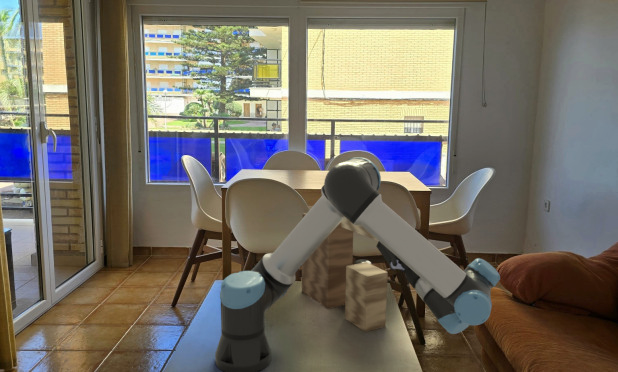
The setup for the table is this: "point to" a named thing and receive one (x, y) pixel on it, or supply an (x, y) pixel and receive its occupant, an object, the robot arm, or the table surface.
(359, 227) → the wooden block
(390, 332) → the table surface
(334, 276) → the stand
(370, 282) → the base pedestal
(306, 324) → the table surface
